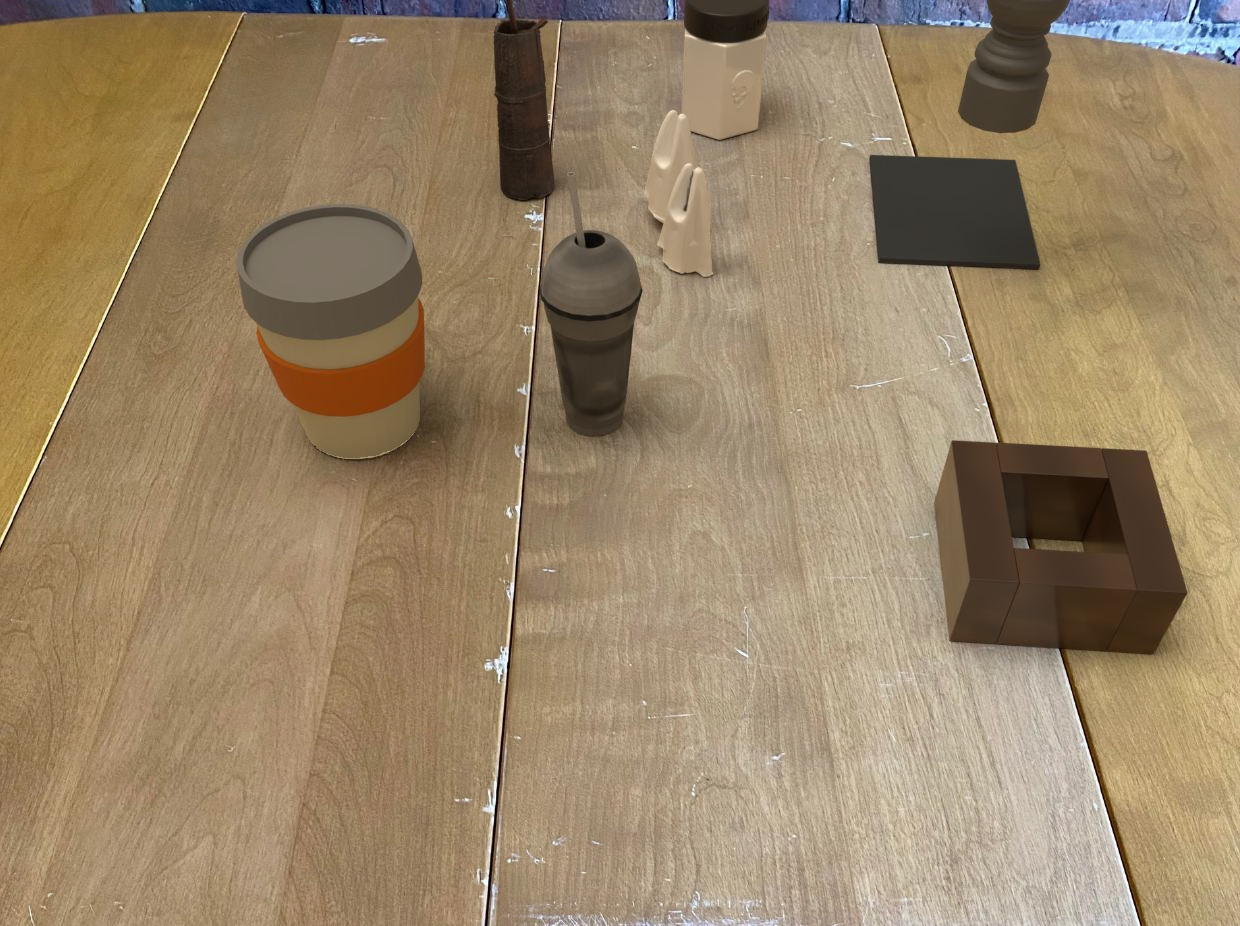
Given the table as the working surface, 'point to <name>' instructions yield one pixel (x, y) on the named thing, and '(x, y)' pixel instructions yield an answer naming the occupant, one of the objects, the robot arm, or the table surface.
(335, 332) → the reusable coffee cup
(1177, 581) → the holder
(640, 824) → the table surface
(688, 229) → the shaker set
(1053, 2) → the candle holder
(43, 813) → the table surface
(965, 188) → the mat
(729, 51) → the jar
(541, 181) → the butter churn
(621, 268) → the beverage cup
